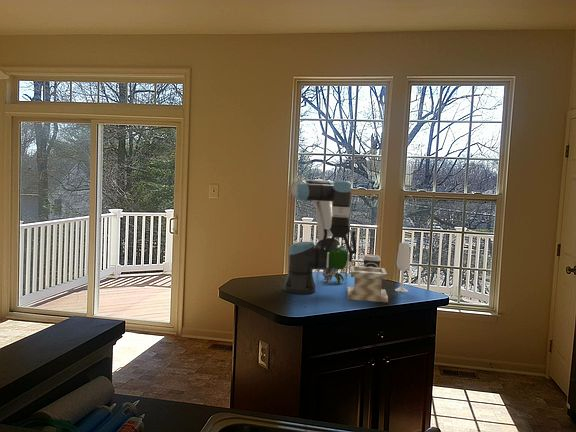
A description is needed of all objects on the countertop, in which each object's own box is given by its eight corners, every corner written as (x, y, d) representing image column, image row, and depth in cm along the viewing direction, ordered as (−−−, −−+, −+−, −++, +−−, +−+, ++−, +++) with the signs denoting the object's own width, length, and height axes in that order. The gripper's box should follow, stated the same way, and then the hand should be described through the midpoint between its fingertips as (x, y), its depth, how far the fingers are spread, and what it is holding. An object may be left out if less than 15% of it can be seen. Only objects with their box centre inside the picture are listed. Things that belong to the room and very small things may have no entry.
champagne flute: (393, 288, 236) (395, 242, 234) (405, 289, 236) (408, 242, 235) (397, 291, 229) (400, 243, 227) (410, 292, 229) (413, 244, 228)
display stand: (347, 299, 208) (348, 271, 208) (347, 290, 226) (349, 265, 225) (387, 302, 206) (389, 274, 205) (384, 293, 224) (386, 268, 223)
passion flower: (326, 292, 245) (316, 272, 248) (341, 286, 251) (331, 267, 255) (337, 284, 236) (326, 263, 240) (352, 278, 242) (341, 258, 246)
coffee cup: (383, 284, 245) (385, 256, 244) (370, 285, 240) (372, 257, 239) (370, 281, 253) (372, 254, 252) (357, 282, 248) (359, 254, 247)
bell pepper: (331, 270, 197) (332, 247, 196) (326, 266, 205) (327, 244, 204) (350, 270, 198) (351, 247, 198) (344, 266, 206) (345, 244, 206)
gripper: (315, 215, 197) (313, 267, 199) (365, 218, 195) (361, 271, 196) (317, 214, 205) (314, 264, 207) (364, 217, 202) (361, 268, 204)
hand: (337, 267), depth 201 cm, fingers closed on bell pepper, 8 cm apart
